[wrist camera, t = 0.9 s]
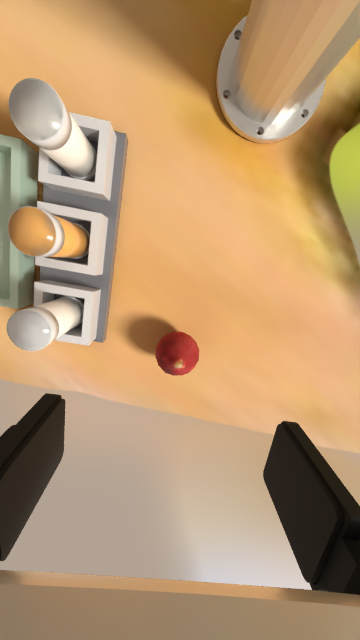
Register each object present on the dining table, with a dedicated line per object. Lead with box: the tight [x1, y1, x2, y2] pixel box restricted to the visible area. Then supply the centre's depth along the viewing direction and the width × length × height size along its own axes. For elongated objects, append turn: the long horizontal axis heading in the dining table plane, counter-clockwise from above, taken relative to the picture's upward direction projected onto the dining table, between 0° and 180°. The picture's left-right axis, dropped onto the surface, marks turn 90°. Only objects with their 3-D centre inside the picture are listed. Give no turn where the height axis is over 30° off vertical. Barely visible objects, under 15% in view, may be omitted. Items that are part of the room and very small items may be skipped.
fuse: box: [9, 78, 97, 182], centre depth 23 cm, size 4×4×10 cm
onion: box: [156, 332, 199, 375], centre depth 31 cm, size 6×6×8 cm
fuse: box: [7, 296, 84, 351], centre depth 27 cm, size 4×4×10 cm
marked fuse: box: [8, 206, 90, 258], centre depth 25 cm, size 4×4×10 cm
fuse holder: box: [34, 112, 128, 346], centre depth 29 cm, size 26×9×4 cm, turn 170°
